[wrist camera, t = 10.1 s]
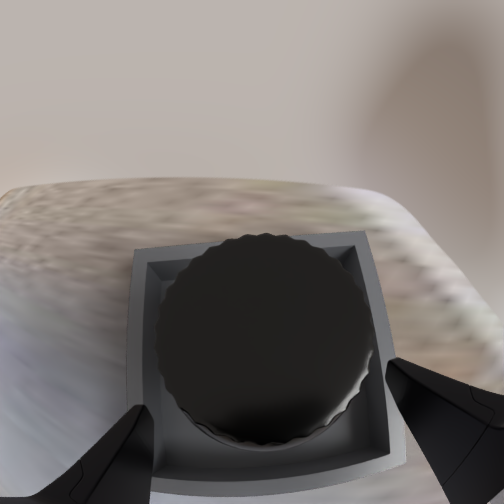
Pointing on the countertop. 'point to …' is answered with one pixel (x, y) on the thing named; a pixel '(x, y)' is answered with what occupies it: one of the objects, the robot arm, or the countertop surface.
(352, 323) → the supplement bottle
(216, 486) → the housing
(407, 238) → the countertop surface
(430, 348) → the countertop surface
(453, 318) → the countertop surface
